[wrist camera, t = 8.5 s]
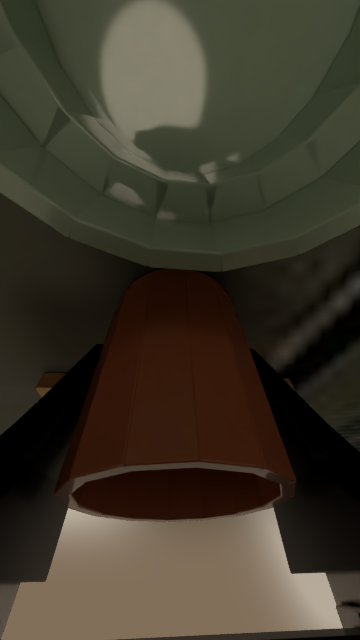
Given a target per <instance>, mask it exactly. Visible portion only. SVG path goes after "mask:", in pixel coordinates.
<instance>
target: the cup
mask: <svg viewBox="0 0 360 640" xmlns="http://www.w3.org/2000/svg"><path fill="white" fill-rule="evenodd" d="M295 494H296V478H295V475H294V472H293V469H292V467H291V464H290V461H289V458H288V455H287V453H286V450H285V447H284V444H283V441H282V439H281V436H280V433H279V430H278V427H277V425H276V422H275V419H274V416H273V413H272V411H271V408H270V405H269V402H268V399H267V397H266V394H265V391H264V388H263V385H262V382H261V380H260V377H259V374H258V371H257V368H256V366H255V363H254V360H253V357H252V354H251V352H250V349H249V346H248V343H247V340H246V338H245V335H244V332H243V329H242V326H241V324H240V321H239V318H238V315H237V312H236V310H235V307H234V304H233V302H232V300H231V299H230V297H229V295H228V293H227V292H226V290H225V289H224V288H223V287H222V286H221V285H220V284H219V283H218V282H217V281H215V280H214V279H212V278H211V277H209V276H207V275H205V274H203V273H200V272H197V271H194V270H181V269H162V270H158V271H154V272H151V273H148V274H146V275H144V276H142V277H140V278H139V279H137V280H136V281H135V282H133V283H132V284H131V285H130V286H129V287H128V288H127V289H126V291H125V292H124V293H123V295H122V297H121V299H120V302H119V305H118V306H117V308H116V310H115V312H114V315H113V318H112V321H111V324H110V327H109V330H108V333H107V336H106V339H105V342H104V345H103V348H102V351H101V354H100V356H99V359H98V362H97V365H96V368H95V371H94V374H93V377H92V380H91V383H90V386H89V389H88V392H87V395H86V398H85V401H84V404H83V407H82V410H81V413H80V416H79V419H78V422H77V425H76V428H75V431H74V433H73V436H72V439H71V442H70V445H69V448H68V451H67V454H66V457H65V460H64V463H63V466H62V469H61V472H60V475H59V478H58V481H57V484H56V487H55V490H54V495H55V496H56V497H57V498H58V499H59V501H60V502H61V503H62V504H63V505H64V506H65V507H67V508H70V509H73V510H76V511H79V512H83V513H86V514H90V515H93V516H98V517H106V518H114V519H121V520H130V521H155V522H167V521H168V522H176V521H195V520H196V521H198V520H210V519H217V518H225V517H233V516H240V515H245V514H249V513H253V512H257V511H261V510H265V509H269V508H273V507H275V506H277V505H279V504H281V503H283V502H284V501H286V500H288V499H290V498H292V497H294V496H295Z"/></svg>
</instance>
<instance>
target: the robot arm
mask: <svg viewBox="0 0 360 640" xmlns="http://www.w3.org/2000/svg"><path fill="white" fill-rule="evenodd" d="M103 345H104V344H97V345H95V346H94V347H93V348H92V349H91V350H90V351H89V352H88V353H87V354H86V355H85V356H84V357H83V358H82V359H81V360H80V361H79V362H78V363H77V364H76V365H75V366H74V367H73V368H72V369H71V370H70V371H69V372H68V373H67V374H65V375H64V376H63V377H62V378H61V379H60V380H59V381H58V382H57V383H56V384H55V385H54V386H53V387H52V388H51V389H50V390H49V391H48V392H47V393H46V394H45V395H44V396H43V397H42V398H41V399H40V400H39V401H38V403H36V404H35V405H34V406H33V407H31V408H30V409H29V410H28V411H27V412H26V413H25V414H24V415H23V416H22V417H21V418H20V419H19V420H18V421H17V422H15V423H14V424H13V425H12V426H11V427H10V428H8V429H7V430H6V431H5V432H4V433H3V434H1V435H0V640H1V638H2V635H3V632H4V629H5V626H6V623H7V620H8V617H9V614H10V612H11V608H12V605H13V603H14V600H15V597H16V594H17V591H18V588H19V585H20V582H45V581H46V578H47V575H48V572H49V569H50V566H51V563H52V559H53V556H54V553H55V549H56V546H57V542H58V539H59V536H60V533H61V529H62V526H63V523H64V519H65V516H66V513H67V510H68V508H67V507H65V506H64V505H63V504H62V503H61V502H60V501H59V499H58V498H57V497H56V496H55V495H54V490H55V487H56V484H57V481H58V478H59V475H60V472H61V469H62V466H63V463H64V460H65V457H66V454H67V451H68V448H69V445H70V442H71V439H72V436H73V433H74V431H75V428H76V425H77V422H78V419H79V416H80V413H81V410H82V407H83V404H84V401H85V398H86V395H87V392H88V389H89V386H90V383H91V380H92V377H93V374H94V371H95V368H96V365H97V362H98V359H99V356H100V354H101V351H102V348H103ZM250 352H251V354H252V357H253V360H254V363H255V366H256V368H257V371H258V374H259V377H260V380H261V382H262V385H263V388H264V391H265V394H266V397H267V399H268V402H269V405H270V408H271V411H272V413H273V416H274V419H275V422H276V425H277V427H278V430H279V433H280V436H281V439H282V441H283V444H284V447H285V450H286V453H287V455H288V458H289V461H290V464H291V467H292V469H293V472H294V475H295V478H296V494H295V496H294V497H292V498H290V499H288V500H286V501H284V502H283V503H281V504H279V505H277V506H275V507H274V511H275V515H276V518H277V522H278V526H279V530H280V534H281V538H282V542H283V545H284V549H285V553H286V557H287V561H288V565H289V568H290V571H291V573H292V574H294V573H326V576H327V578H328V581H329V584H330V587H331V590H332V592H333V596H334V599H335V602H336V604H337V605H336V609H337V611H338V614H339V617H340V620H341V623H342V626H343V629H322V630H304V631H303V630H302V631H283V632H282V631H281V632H261V633H241V634H220V635H200V636H180V637H161V638H160V637H159V638H140V639H119V640H360V452H359V451H358V450H357V449H356V448H354V447H353V446H352V445H351V444H350V443H349V442H348V441H346V440H345V439H344V438H343V437H342V436H341V435H340V434H339V433H337V432H336V431H335V430H334V429H333V428H332V427H331V426H330V425H329V424H328V423H327V422H326V421H324V420H323V419H322V418H321V417H320V416H319V415H318V414H317V413H316V412H315V411H314V410H313V409H312V408H311V407H309V405H308V404H307V403H306V402H305V401H304V400H303V399H302V398H301V397H300V396H299V395H298V394H297V393H296V392H295V391H294V390H293V389H292V388H291V386H290V385H289V384H288V383H287V382H286V381H285V380H284V379H283V378H282V377H281V376H280V375H279V374H278V373H277V372H276V371H275V370H274V369H273V368H272V367H271V366H270V365H269V364H268V363H267V362H266V361H265V360H264V359H263V358H262V357H261V356H260V355H259V354H258V353H257V352H256V351H255V350H254V349H250Z"/></svg>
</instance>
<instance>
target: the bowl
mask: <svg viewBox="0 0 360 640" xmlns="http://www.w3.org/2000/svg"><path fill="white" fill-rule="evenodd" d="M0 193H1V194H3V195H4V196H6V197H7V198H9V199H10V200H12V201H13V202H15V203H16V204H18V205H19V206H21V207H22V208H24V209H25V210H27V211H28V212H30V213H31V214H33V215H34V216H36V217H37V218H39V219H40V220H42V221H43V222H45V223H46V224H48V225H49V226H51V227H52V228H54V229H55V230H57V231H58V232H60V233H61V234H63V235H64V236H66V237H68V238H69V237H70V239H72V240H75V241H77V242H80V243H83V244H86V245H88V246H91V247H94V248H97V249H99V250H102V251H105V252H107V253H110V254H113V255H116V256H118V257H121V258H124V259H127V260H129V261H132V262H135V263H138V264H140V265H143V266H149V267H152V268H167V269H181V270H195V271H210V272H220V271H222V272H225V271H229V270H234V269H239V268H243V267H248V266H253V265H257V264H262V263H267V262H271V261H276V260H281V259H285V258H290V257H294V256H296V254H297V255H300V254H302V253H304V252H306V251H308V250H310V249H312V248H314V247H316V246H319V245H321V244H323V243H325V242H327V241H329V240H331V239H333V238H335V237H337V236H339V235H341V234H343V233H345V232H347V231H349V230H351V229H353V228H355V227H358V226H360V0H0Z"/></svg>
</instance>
